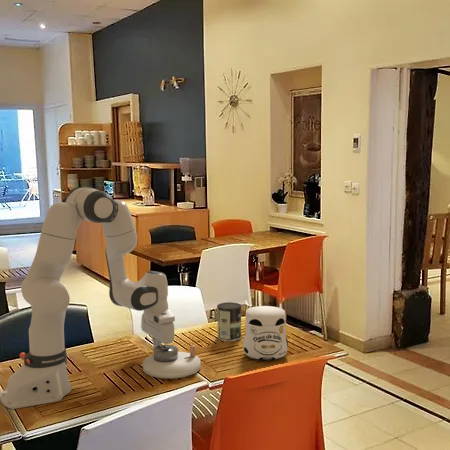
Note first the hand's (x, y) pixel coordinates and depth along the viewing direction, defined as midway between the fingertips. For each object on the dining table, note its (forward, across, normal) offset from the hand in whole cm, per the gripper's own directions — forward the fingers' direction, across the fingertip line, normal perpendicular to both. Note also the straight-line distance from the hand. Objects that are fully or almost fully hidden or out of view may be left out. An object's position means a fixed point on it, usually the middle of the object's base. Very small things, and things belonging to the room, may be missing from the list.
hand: (157, 348), depth 219 cm
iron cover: (+2, +7, 0) cm, 7 cm away
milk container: (+5, +21, +36) cm, 42 cm away
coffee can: (+5, -5, +37) cm, 38 cm away
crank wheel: (+5, +11, 0) cm, 12 cm away
